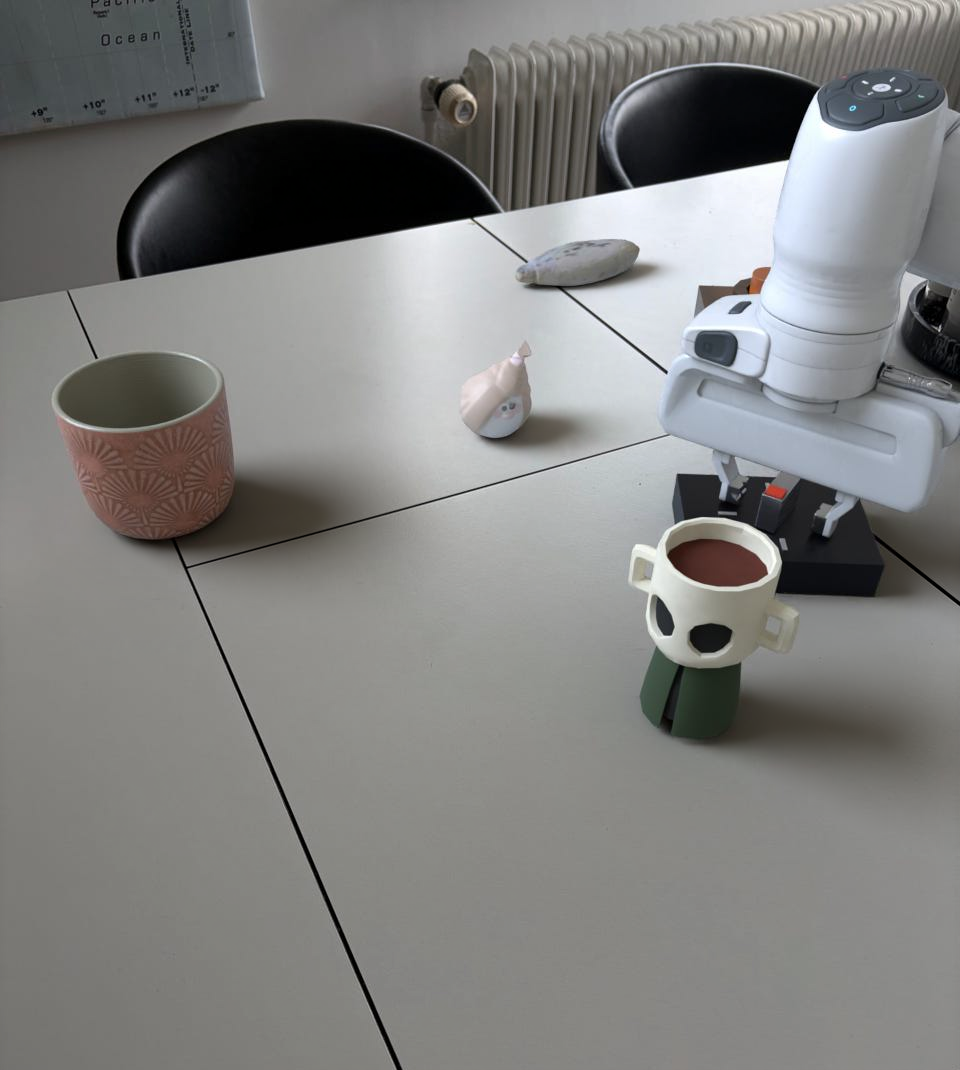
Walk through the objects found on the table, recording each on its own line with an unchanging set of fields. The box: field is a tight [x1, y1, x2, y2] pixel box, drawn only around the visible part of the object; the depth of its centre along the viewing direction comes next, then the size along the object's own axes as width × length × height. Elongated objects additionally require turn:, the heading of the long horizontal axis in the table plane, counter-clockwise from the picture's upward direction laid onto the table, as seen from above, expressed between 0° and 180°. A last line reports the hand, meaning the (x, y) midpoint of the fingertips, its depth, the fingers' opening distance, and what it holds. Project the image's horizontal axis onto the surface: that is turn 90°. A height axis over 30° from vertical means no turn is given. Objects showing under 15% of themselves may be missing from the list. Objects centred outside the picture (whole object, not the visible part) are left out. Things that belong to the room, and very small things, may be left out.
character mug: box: [627, 517, 801, 740], centre depth 64 cm, size 11×7×13 cm, turn 53°
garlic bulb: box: [458, 339, 533, 439], centre depth 91 cm, size 7×6×8 cm
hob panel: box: [671, 472, 886, 598], centre depth 80 cm, size 14×11×3 cm
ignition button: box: [749, 266, 772, 294], centre depth 102 cm, size 4×4×2 cm
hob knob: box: [755, 471, 803, 533], centre depth 78 cm, size 4×2×3 cm, turn 146°
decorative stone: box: [514, 238, 641, 287], centre depth 117 cm, size 6×16×3 cm, turn 116°
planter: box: [51, 348, 235, 540], centre depth 80 cm, size 12×12×11 cm
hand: (776, 515), depth 79 cm, fingers open, 6 cm apart
